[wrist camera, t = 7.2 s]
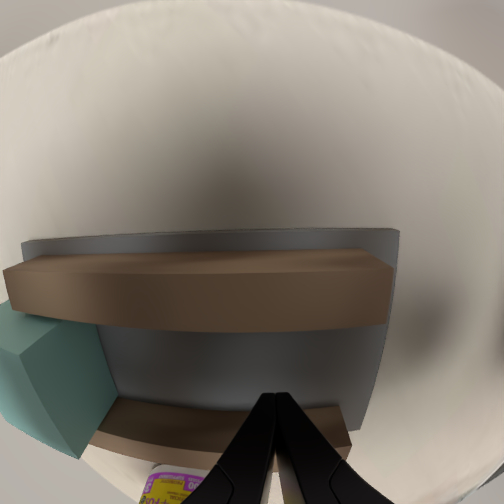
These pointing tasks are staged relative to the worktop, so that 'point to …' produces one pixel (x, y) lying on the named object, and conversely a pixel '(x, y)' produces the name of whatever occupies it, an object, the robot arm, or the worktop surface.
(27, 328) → the block
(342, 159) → the worktop surface
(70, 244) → the chute
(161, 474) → the supplement bottle
